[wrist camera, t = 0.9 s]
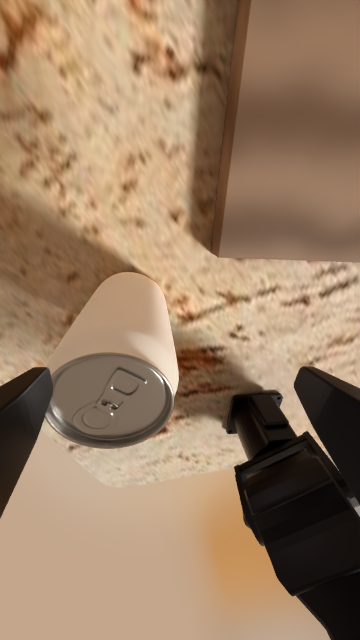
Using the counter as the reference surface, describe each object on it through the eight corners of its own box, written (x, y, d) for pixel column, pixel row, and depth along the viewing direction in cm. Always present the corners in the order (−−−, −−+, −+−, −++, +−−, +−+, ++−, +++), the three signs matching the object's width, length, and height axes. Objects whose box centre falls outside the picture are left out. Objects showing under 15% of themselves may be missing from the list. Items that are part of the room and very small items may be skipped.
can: (81, 313, 20) (2, 427, 9) (118, 254, 18) (76, 313, 7) (140, 346, 22) (133, 468, 12) (179, 297, 21) (212, 388, 10)
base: (369, 258, 21) (395, 263, 19) (210, 252, 19) (218, 257, 17) (474, 9, 14) (533, -28, 12) (243, -45, 12) (264, -103, 10)
